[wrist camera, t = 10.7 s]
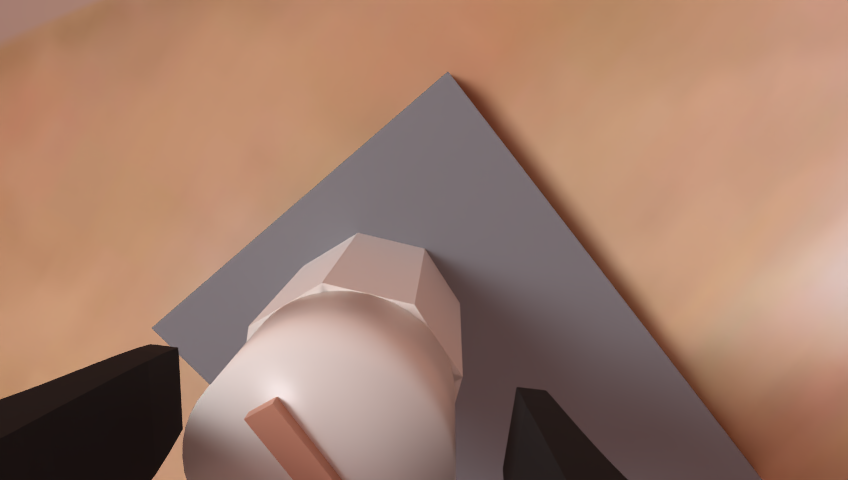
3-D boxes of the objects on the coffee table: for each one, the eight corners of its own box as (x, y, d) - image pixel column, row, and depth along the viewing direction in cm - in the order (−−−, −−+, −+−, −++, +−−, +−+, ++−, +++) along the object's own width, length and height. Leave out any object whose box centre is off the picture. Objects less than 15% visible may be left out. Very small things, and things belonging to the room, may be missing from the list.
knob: (398, 208, 14) (350, 303, 7) (483, 339, 15) (508, 526, 8) (265, 288, 15) (118, 436, 8) (354, 407, 16) (285, 623, 9)
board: (756, 473, 17) (775, 496, 16) (480, 621, 19) (481, 648, 18) (448, 73, 13) (448, 71, 13) (169, 314, 16) (151, 327, 15)
